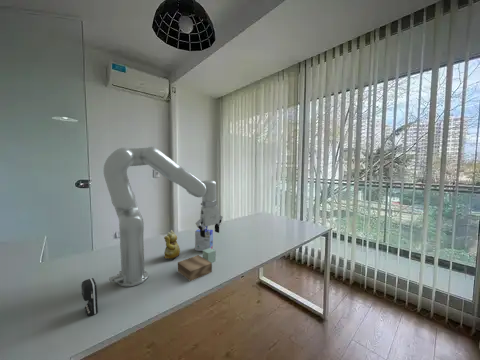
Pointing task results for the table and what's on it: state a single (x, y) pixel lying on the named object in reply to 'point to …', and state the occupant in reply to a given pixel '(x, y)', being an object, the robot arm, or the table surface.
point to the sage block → (209, 255)
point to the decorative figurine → (171, 246)
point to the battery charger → (90, 296)
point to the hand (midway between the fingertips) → (210, 234)
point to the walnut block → (194, 267)
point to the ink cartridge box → (203, 240)
